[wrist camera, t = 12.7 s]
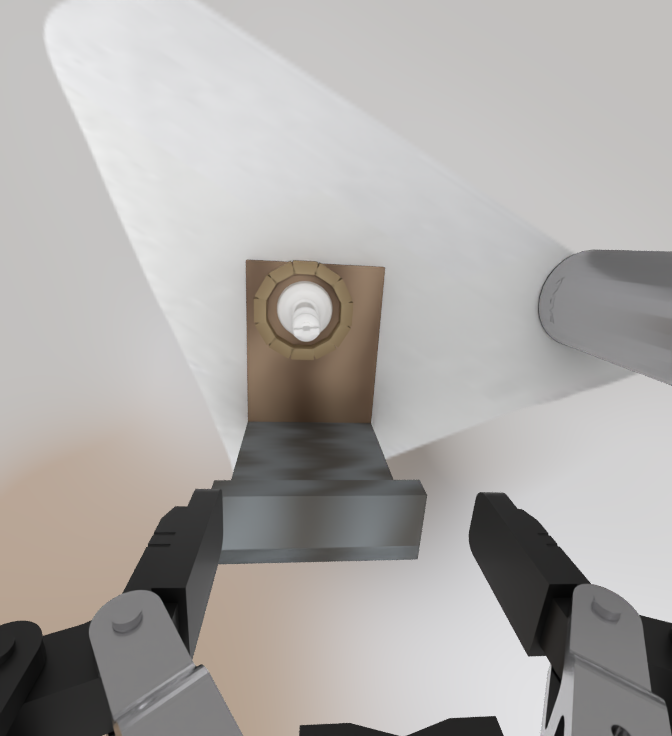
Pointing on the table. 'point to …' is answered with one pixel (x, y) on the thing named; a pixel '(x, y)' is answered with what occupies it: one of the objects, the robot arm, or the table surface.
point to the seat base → (315, 432)
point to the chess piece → (304, 310)
